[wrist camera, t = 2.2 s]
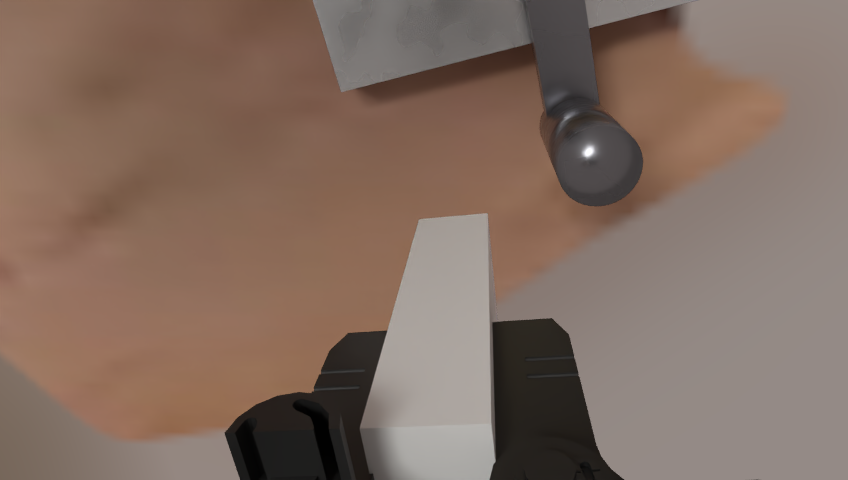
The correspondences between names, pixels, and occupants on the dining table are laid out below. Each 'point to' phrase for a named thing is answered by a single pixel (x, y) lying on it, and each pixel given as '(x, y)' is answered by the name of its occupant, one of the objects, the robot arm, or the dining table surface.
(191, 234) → the dining table surface
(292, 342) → the dining table surface
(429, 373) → the robot arm
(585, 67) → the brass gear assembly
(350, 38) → the cap plate
